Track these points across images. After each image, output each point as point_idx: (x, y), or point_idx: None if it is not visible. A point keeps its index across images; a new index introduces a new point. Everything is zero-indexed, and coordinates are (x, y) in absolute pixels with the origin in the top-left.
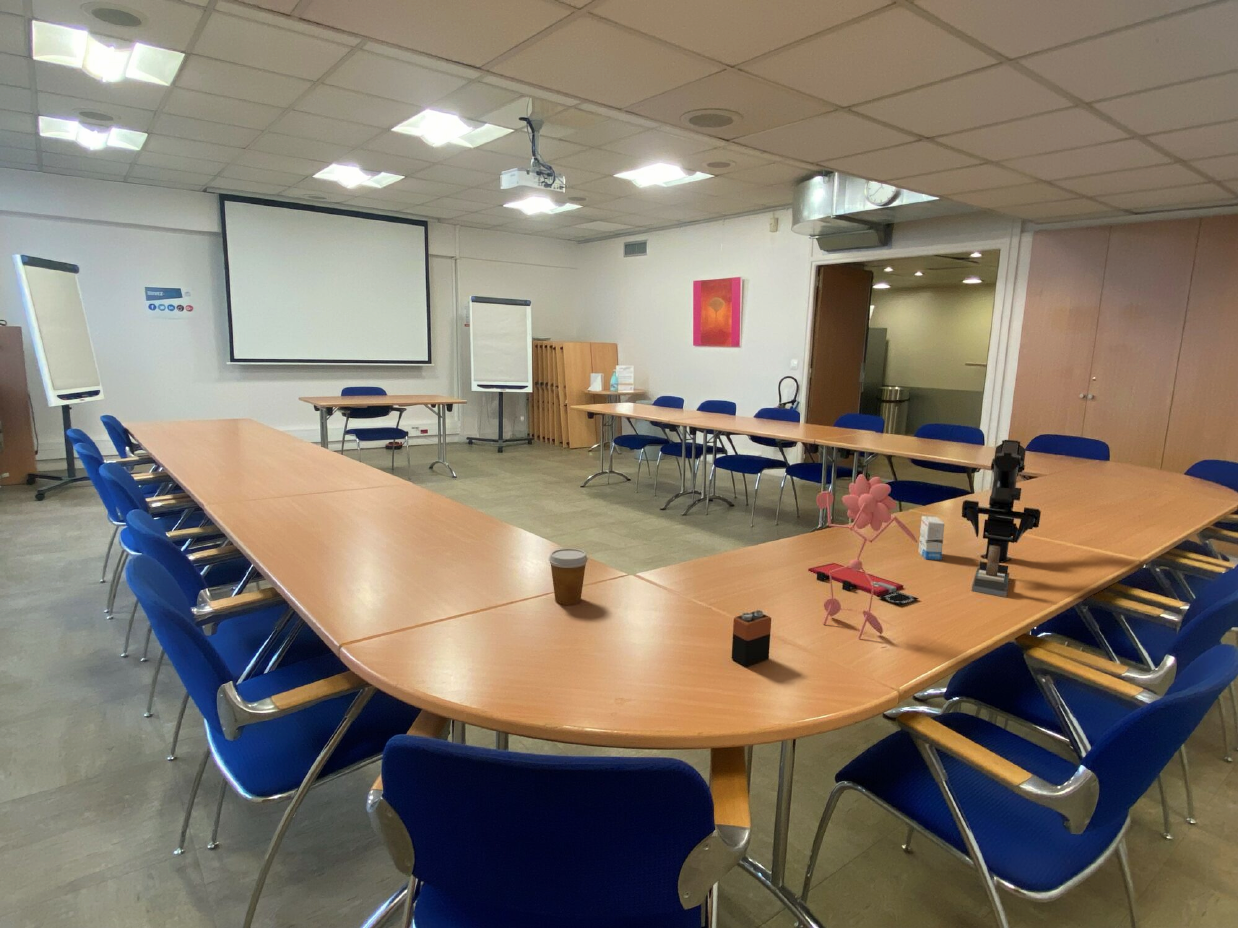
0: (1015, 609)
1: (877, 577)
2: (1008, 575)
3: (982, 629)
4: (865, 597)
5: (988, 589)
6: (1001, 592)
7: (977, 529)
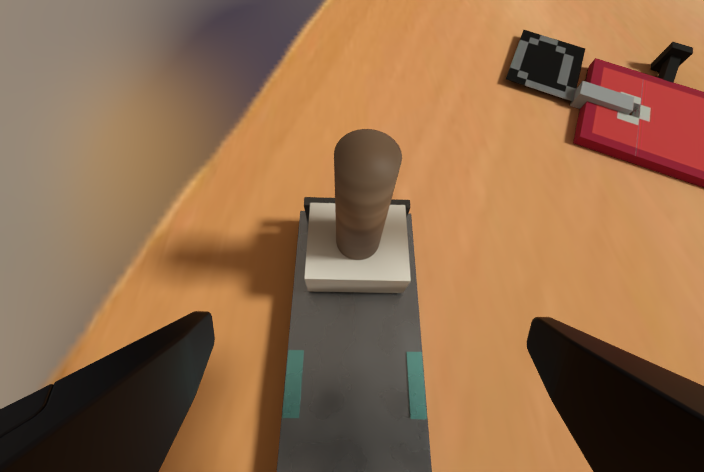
0: (283, 138)
1: (669, 162)
2: (280, 468)
3: (354, 12)
4: (601, 51)
5: None
6: None
7: (590, 344)
